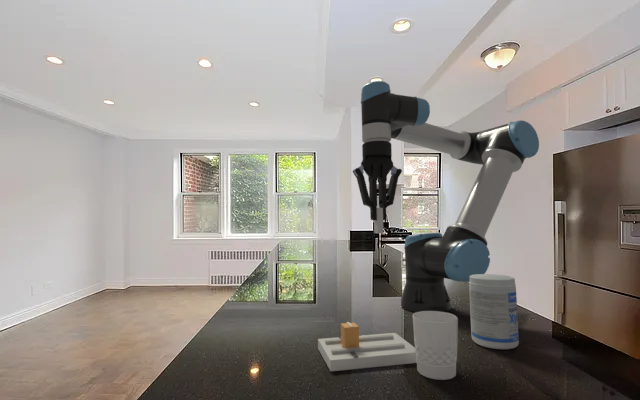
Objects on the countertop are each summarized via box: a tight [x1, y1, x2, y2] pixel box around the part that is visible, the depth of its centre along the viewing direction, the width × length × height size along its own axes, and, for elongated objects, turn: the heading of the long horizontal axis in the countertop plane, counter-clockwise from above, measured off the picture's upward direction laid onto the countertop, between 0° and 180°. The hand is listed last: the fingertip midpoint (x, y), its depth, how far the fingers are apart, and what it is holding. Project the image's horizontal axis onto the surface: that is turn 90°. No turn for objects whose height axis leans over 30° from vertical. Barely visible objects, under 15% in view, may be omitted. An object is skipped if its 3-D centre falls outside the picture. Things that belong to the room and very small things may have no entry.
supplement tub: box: [468, 273, 520, 350], centre depth 79 cm, size 10×10×15 cm
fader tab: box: [340, 321, 360, 348], centre depth 72 cm, size 3×3×4 cm
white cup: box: [412, 311, 459, 381], centre depth 64 cm, size 8×8×10 cm
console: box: [317, 332, 417, 372], centre depth 72 cm, size 18×12×3 cm, turn 102°
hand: (378, 233), depth 90 cm, fingers closed
